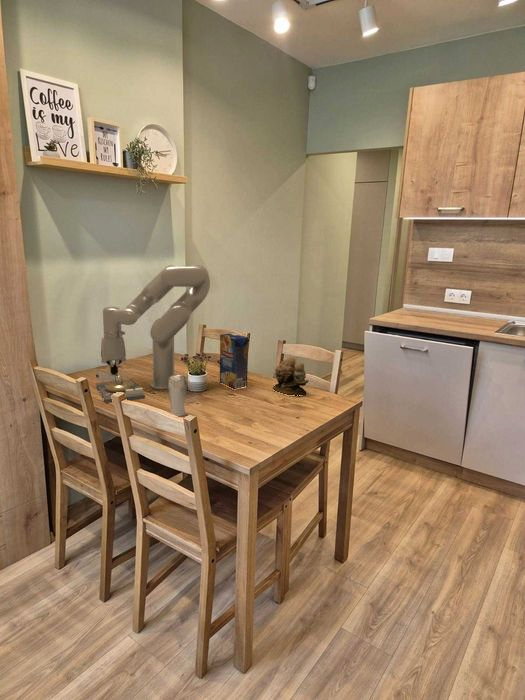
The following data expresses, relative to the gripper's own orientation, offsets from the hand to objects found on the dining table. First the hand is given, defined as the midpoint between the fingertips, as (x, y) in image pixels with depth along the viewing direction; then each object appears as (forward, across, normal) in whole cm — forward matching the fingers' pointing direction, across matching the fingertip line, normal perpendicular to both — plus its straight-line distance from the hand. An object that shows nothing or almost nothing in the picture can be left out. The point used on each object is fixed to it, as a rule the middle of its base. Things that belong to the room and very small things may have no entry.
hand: (114, 374), depth 201 cm
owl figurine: (+6, -69, +41) cm, 80 cm away
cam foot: (+4, +2, +6) cm, 8 cm away
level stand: (+6, 0, +8) cm, 10 cm away
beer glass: (+6, -13, +44) cm, 47 cm away
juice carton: (+6, -49, +22) cm, 54 cm away
